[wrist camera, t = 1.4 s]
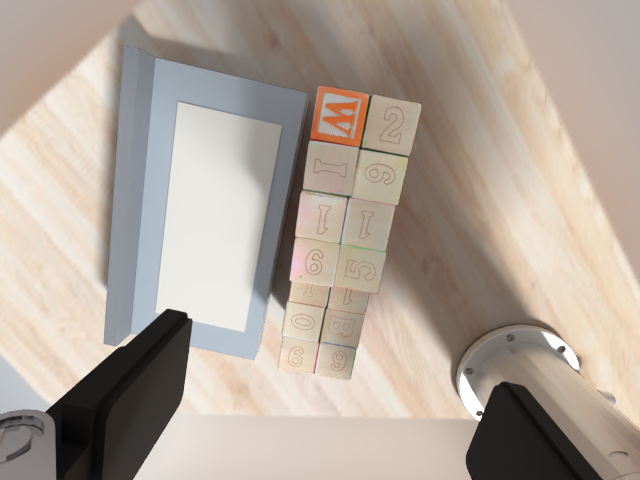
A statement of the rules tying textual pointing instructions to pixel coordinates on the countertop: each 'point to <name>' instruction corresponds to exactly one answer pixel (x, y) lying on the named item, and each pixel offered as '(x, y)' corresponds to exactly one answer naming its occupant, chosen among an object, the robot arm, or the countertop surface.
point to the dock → (199, 200)
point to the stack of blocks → (343, 225)
